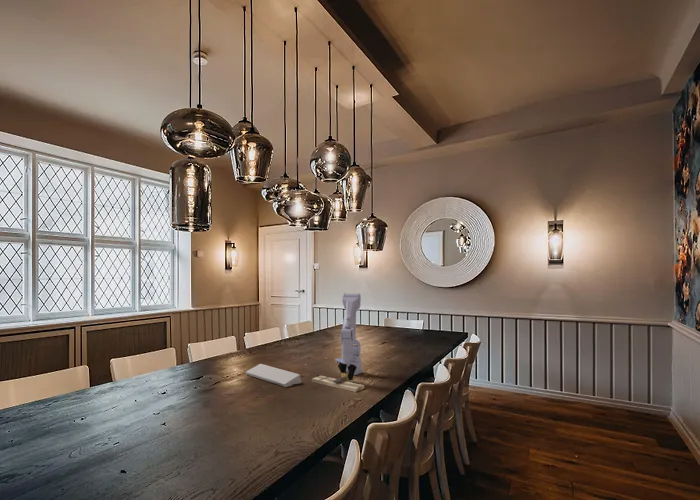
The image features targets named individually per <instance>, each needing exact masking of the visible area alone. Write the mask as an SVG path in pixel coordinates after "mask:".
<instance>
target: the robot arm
mask: <svg viewBox="0 0 700 500" xmlns="http://www.w3.org/2000/svg"><path fill="white" fill-rule="evenodd" d="M361 297H362V296H361V294H360V293H359V292H358V293H345V292H344V293H343V294H342V305H343V307H344V309H345V316H344V317H343V320H342V321H343V322H342V328H341V329H340V343H341V358H335V359H334V361H335V364H337V368H338V370H339V371H340V372H339V373H340V374H341V373H342V372H345V371H349V380H353V381H354V376H356V375H359V374H362V373H364V372H363V371H362V369H363V367H362V358H361V357H360V356H361V349H362V348H361V343H360V341H359V340H357V338H356V332H357V331H356V328H357V312H358V310H359V309H360V308H361V299H362V298H361Z"/></svg>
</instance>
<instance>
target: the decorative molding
mask: <svg viewBox="0 0 700 500" xmlns="http://www.w3.org/2000/svg"><path fill="white" fill-rule="evenodd" d="M245 374H246V375H247V376H250V377H253V378H257V379H259V380H262V381H265V382H269V383H272V384H275V385H278V386H281V387H283V388H288V387H292V386H294V385H300V384H302V380H301V375H300V374H299V373H295V372H292V371H288V370H285V369H282V368H277V367H274V366H270V365H267V364H262V363H259V364H256V366H253V367H252V368H250V369H248V370H246V371H245Z"/></svg>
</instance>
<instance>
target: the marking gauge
mask: <svg viewBox="0 0 700 500" xmlns="http://www.w3.org/2000/svg"><path fill="white" fill-rule="evenodd" d="M340 376H341V377H339V378H335V379H336V380H333V383H338V382H341V381H347V382H352V383H354V379H353V380H349V371H345V372H342V373H341V372H340Z"/></svg>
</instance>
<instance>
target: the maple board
mask: <svg viewBox="0 0 700 500" xmlns="http://www.w3.org/2000/svg"><path fill="white" fill-rule="evenodd" d="M336 379H337V378H333V377H330V376H329V377H328V376H324V375H319V376H315V377H313V378H311V382H312V383H316V384H320V385H324V386H329V387H332V388H337V389H341V390H345V391H349V392H354V393H357V392H359V391H362V390H364V389H365V385H364V384H361V383H356V382H347V381H341V382H338V383H333V380H336Z"/></svg>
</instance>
